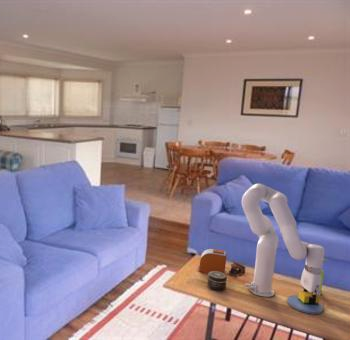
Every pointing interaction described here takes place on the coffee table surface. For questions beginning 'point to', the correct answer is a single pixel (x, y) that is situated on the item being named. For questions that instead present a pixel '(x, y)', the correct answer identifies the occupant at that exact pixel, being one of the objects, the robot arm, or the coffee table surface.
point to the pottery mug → (235, 272)
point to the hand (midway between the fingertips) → (308, 301)
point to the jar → (217, 280)
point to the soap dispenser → (322, 276)
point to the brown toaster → (213, 261)
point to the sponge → (307, 298)
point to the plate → (304, 306)
